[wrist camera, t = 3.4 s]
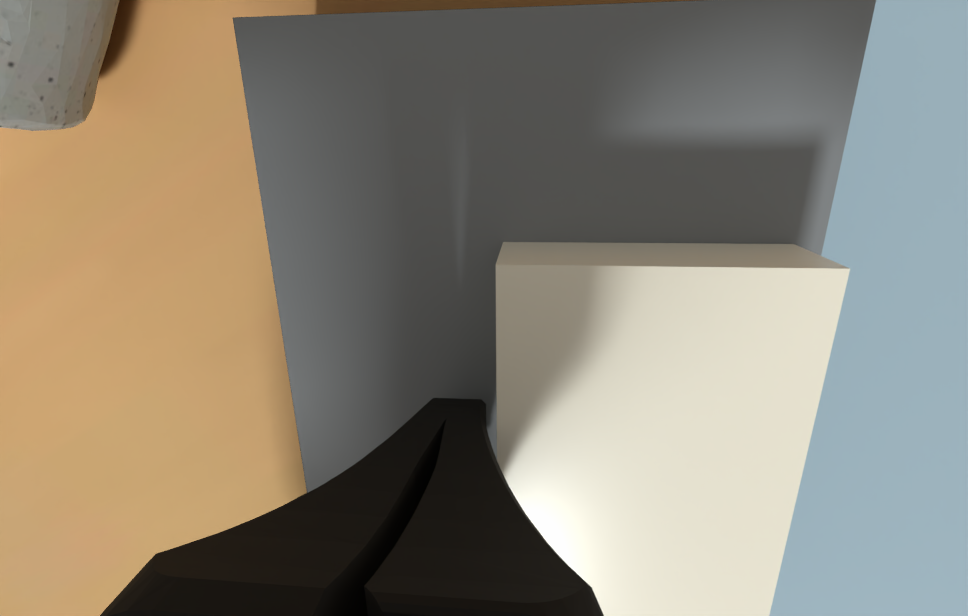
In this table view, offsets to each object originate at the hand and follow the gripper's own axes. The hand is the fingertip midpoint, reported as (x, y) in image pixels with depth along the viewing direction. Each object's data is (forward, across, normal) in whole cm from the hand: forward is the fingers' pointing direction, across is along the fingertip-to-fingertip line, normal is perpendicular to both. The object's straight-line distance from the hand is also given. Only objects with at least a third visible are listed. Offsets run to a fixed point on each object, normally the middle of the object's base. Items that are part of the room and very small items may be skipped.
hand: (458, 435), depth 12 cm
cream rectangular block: (+1, -4, 0) cm, 4 cm away
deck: (+5, -2, 0) cm, 5 cm away
